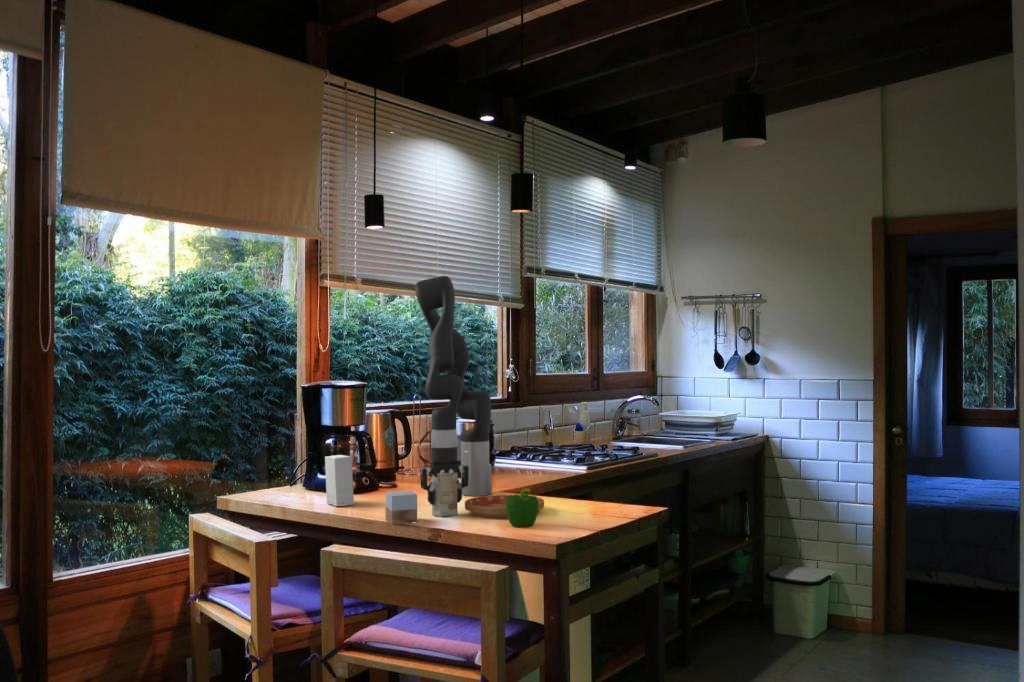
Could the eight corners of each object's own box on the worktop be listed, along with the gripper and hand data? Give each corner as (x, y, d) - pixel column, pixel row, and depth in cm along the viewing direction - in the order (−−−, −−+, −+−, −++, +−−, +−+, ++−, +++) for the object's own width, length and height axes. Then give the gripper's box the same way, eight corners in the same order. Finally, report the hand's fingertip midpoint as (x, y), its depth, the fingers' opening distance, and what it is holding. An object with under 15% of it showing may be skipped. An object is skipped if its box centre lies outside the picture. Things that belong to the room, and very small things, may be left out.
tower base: (410, 519, 256) (409, 504, 256) (417, 523, 249) (417, 508, 249) (385, 521, 253) (385, 506, 253) (392, 525, 246) (392, 511, 246)
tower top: (410, 504, 256) (410, 490, 256) (417, 508, 249) (417, 494, 249) (386, 506, 253) (386, 492, 253) (392, 510, 247) (391, 496, 247)
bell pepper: (500, 525, 245) (499, 487, 245) (525, 521, 249) (524, 484, 249) (518, 530, 238) (518, 491, 238) (543, 526, 243) (543, 488, 243)
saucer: (449, 512, 266) (449, 499, 266) (513, 503, 279) (513, 491, 279) (494, 524, 247) (494, 510, 247) (560, 514, 261) (560, 501, 261)
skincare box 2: (440, 517, 256) (440, 473, 256) (431, 515, 259) (431, 472, 259) (458, 514, 260) (458, 471, 260) (449, 512, 263) (449, 470, 263)
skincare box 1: (354, 505, 277) (353, 456, 277) (335, 507, 273) (335, 457, 273) (343, 501, 284) (342, 453, 284) (324, 503, 280) (324, 455, 280)
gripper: (463, 442, 266) (464, 499, 266) (416, 445, 260) (416, 503, 260) (472, 445, 259) (473, 503, 259) (423, 447, 253) (424, 507, 253)
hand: (444, 503), depth 260 cm, fingers closed on skincare box 2, 7 cm apart
